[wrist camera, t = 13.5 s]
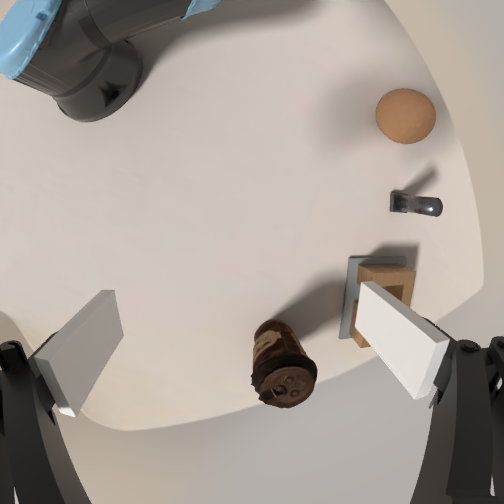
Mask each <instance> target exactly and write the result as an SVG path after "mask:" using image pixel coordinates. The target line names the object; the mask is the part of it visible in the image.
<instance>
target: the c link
mask: <svg viewBox="0 0 504 504" xmlns="http://www.w3.org/2000/svg"><path fill="white" fill-rule="evenodd" d="M415 274H416V271H414V270H412V269H410V268H408V267H406V266H404V265H402V264H399V263H391V264H358V272H357V281H356V283H357V284H358V285H360V286H361V282H368V281H374V282H375V283H376V284H378V285H379V286H381V287H382V288H383V286H386V291H387V292H389V293H390V294H392V295H393V296H394V297H396V298H397V299H398V300H400V301H401V302H402V303H404V304H405V305H406V306H408V307H410V302H411V297H412V292H413V286H414V280H415ZM358 303H359V300H356V301H354V304H353V311H352V317H351V324H350V330H349V334H350V335H351V337H352V338H353V339H354V340H355V342H356V343H357V344H358V345H359V347H360V348H364V347H370V346H371V345H370V344H369V343H368V342H367V341H366V339H365V338H364V337H363V336H362V335H361V333H360V332H359V331H358V330H357V329H356V328H355V322H356V316H357V310H358Z"/></svg>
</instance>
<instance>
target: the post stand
mask: <svg viewBox="0 0 504 504" xmlns="http://www.w3.org/2000/svg"><path fill="white" fill-rule="evenodd" d="M442 210H443V205H442V202H441V200H440V199H439V198H433V197H421V196H408V194H400V193H391V195H390V211H391V212H402V213H407V212H412V213H418V214H424V215H430V216H435V217H438V216H440V214H441V213H442Z"/></svg>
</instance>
